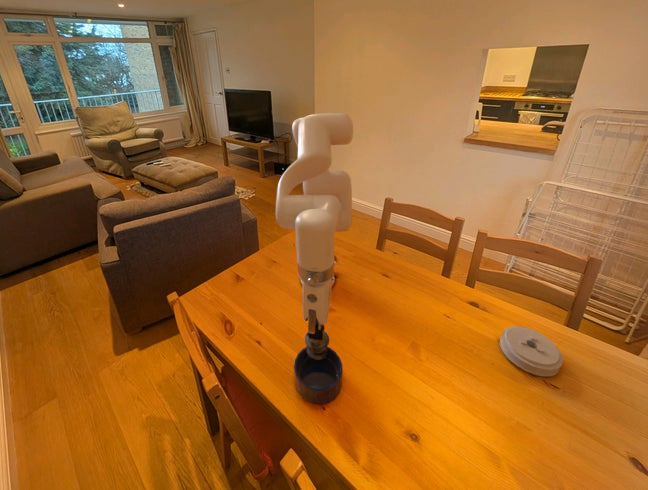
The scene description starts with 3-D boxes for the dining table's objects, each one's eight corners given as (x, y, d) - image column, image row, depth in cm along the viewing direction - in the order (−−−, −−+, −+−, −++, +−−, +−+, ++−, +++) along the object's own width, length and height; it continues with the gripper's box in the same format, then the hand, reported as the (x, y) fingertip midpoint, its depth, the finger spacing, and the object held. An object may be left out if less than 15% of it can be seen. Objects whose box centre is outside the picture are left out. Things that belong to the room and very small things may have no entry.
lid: (556, 389, 70) (563, 376, 68) (494, 357, 78) (498, 345, 76) (560, 352, 79) (566, 339, 77) (503, 327, 87) (507, 315, 85)
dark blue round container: (315, 351, 83) (314, 336, 81) (351, 379, 75) (352, 364, 73) (285, 382, 76) (284, 367, 73) (322, 418, 68) (322, 402, 65)
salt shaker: (328, 362, 67) (328, 325, 62) (303, 358, 69) (301, 321, 64) (330, 340, 73) (330, 304, 68) (306, 337, 74) (305, 301, 69)
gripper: (328, 299, 52) (328, 367, 60) (338, 245, 67) (337, 305, 74) (288, 293, 54) (293, 360, 62) (305, 242, 69) (308, 301, 76)
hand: (317, 329), depth 68 cm, fingers closed on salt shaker, 3 cm apart
